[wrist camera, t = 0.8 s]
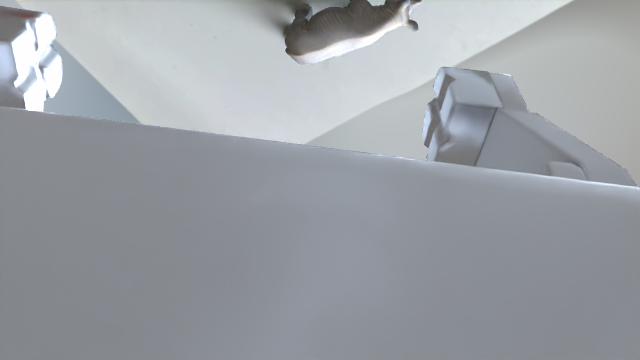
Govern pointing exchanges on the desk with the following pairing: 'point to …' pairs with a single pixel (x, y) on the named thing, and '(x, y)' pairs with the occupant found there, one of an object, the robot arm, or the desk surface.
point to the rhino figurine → (344, 28)
